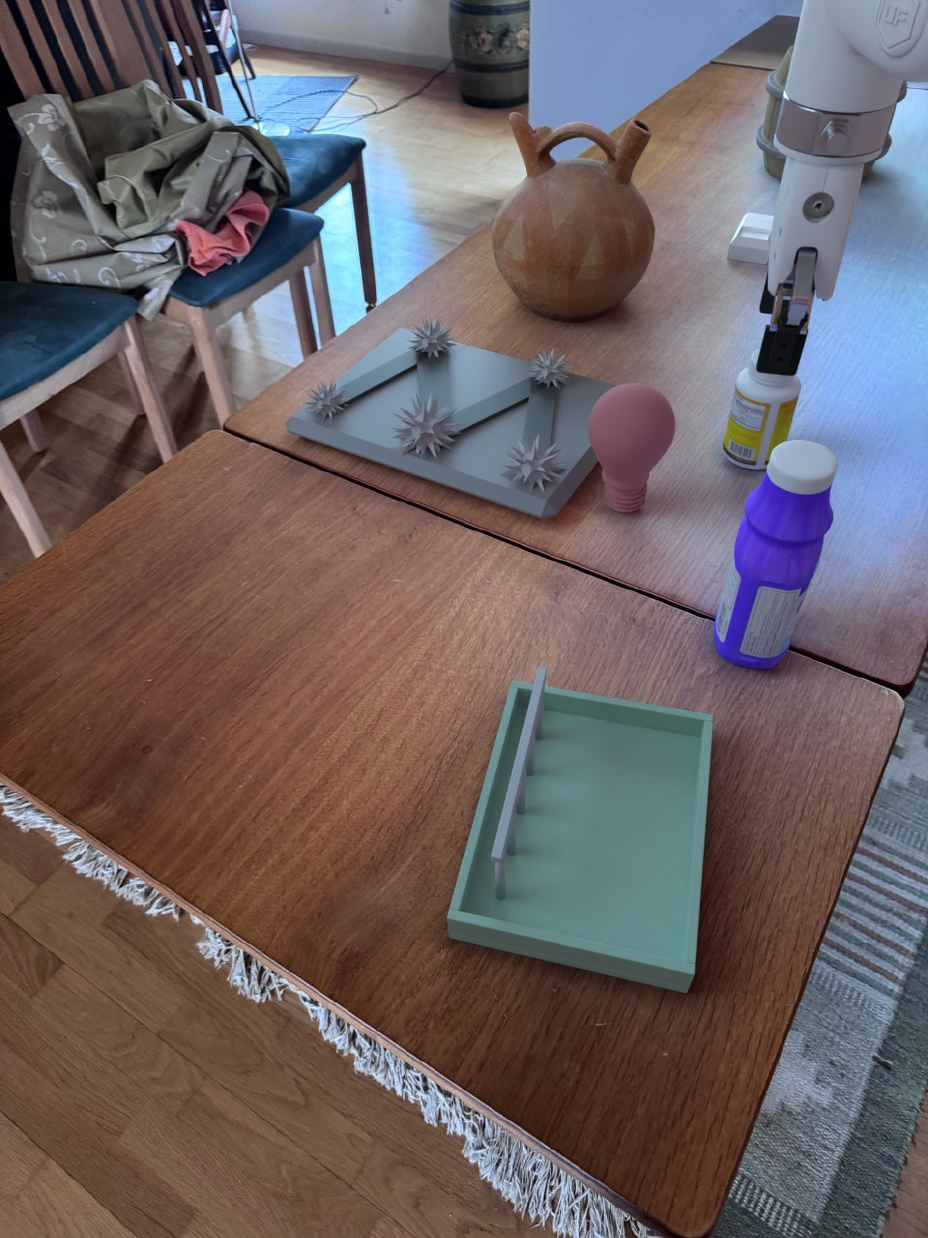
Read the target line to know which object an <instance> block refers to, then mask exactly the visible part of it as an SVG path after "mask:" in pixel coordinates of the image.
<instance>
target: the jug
mask: <svg viewBox="0 0 928 1238" xmlns="http://www.w3.org/2000/svg"><path fill="white" fill-rule="evenodd" d="M508 122H509V124H510V127H511V131H512V133H513V136H514V139H515V142H516V145H517V146H518V149H519V152H520V155H521V157H522V161H523V163H524V167H525V172H526V176H525V177H524V178H523V180H521V181H520V182H519V183H518V184H517V185H516V186H515V187H514V188H513V189H512V190H511V191H510V192H509V193H508V194H507V195H506V197H505V199H504V201H503V202H502V204H501V206H500V207H499V209H498V211H497V212H496V215H495V217H494V219H493V223H492V226H491V244H492V250H493V257H494V261H495V264H496V266H497V271H498V272H499V273H500V275H501V276H502V278H503V280H504V282H505V283H506V284H507V286H508V288H510V290H511V291H512V292H513V294H514V295H515V296H516V297H517V298H518V299H519V300H520V301H521V302H522V304H523V305H524V306H525V307H526V308H527V309H529V310H530V311H531V312H532V313H534V314H536V315H538V316H541V317H542V318H545V319H549V320H553V321H557V322H558V321H559V322H566V323H570V322H584V321H586V322H587V321H590V320H594V319H598V318H600V317H604V316H606V315H607V314H609V313H610V312H612V311H613V310H614V309H615V308H617V306H618V305H620V304H621V302H623V301H624V300H625V299H626V298H627V297H628V295H630V293H632V292H633V290H634V289H635V288H636V287H637V286H638V284H639V282H640V281H641V279H642V278H643V277H644V275H645V273H646V271H647V269H648V267H649V264H650V261H651V259H652V254H653V251H654V245H655V244H654V243H655V236H656V226H655V222H654V219H653V215H652V213H651V210H650V208H649V206H648V204H647V201H646V198H644V196H643V195H642V194H641V192H640V191H639V189H638V187H637V186H636V184H635V183H634V182H633V181H632V178H633V174H634V170H635V167H636V166H637V163H638V162H639V160H640V158H641V156H642V154H643V153H644V151H645V149H646V147H647V145H648V144H649V141H650V140H651V138H652V131H651V128H650V126H649V125H648V124H646V123H645V122H643V121H641V120H639V119H637V118H631V119H630V121H629V122H628V123H627V126H626V127H625V129H624V131H623V133H622V135H621V137H620V138H619V140H615V139H614V138H612V136H610V135H609V134H608V133H607V132H605V131H604V130H603V129H602V128H600V127H598V126H596V125H594V124H592V123H589V122H585V121H577V120H576V121H572V122H567V123H565V124H562V125H560V126H558V127H556V128H555V129H553V128H552V127H550V126H548V125H546V124H540V125H537V126H536V127H535V129H533V127H532V126H531V124H530V123H529V122H528V121H527V120H526V118H525V117H524V115H523V114H522V113H520V112H517V111H514V112H511V113H509V116H508ZM577 138H578V139H579V138H583V139H587V140H589V141H591V142H593V143H595V145H597V146H598V147H599V148H600V149H601V150H602V151H603V153H604V154H605V155H606V159H607V160H605V161H601V160H597V159H594V158H587V157H586V158H585V157H578V158H577V157H576V158H568V159H563V160H555V159H554V158H553V157H552V155H551V151H552V150H553V149H554V148H555V147H557V146H558V145H561V144H563V143H564V142H567V141H569V140H572V139H577Z"/></svg>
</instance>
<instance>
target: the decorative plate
mask: <svg viewBox="0 0 928 1238" xmlns="http://www.w3.org/2000/svg"><path fill="white" fill-rule="evenodd" d="M436 318H437V316H434V319H433V322H432V318H430V319H429V322H428V319H427V318H426V316H424V319H425V321H424V319H423V318H421V321H422V322H421V321H420V325H421V328H419V327H418V326H417V325H416V324H415V325H414V324H413V326H414V327H415V328H416V329H415V328H412V329H409V328H405V327H402V326H401V327H399V328H398V329H396V330H395V331H394V332H393V333H391V334H390V335H389V336H388V337H387V338H386V339H384V340H383V341H382V342H380V344H378V345H377V346H376V347H374V348H373V349H372V350H371V351H370V352H368V353H367V354H366V355H365V356H364V357H362V358H361V359H360V360H358V362H356V363H355V364H354V365H353V366H352V367H350V368H349V369H348V370H347V371H345V372H344V373H342V374H341V375H340V376H339V377H338V378H337V379H335V380H334V381H333V380H329V382H328V384H327V387H326V384H325V383H323V382H322V381H320V384H321V386H320V385H319V383H318V382H316V385H317V390H318V392H317V391H316V390H313V389H312V388H309V391H310V392H311V393H312V394H311V393H309V392H307V391H305V394H307V395H308V396H309V397H310V398H311V400H307V401H304V403H305V404H304V406H302V407H301V408H300V409H299V410H298V411H297V412H295V413H294V414H293V415H292V416H290V418H289V419H288V420H287V421H286V430H287V433H289V434H292V435H295V436H298V437H301V438H304V439H307V440H310V441H312V442H316V443H319V444H322V445H324V446H327V447H330V448H334V449H336V450H339V451H342V452H344V453H347V454H350V455H354V456H357V457H359V458H363V459H365V460H369V461H371V462H374V463H377V464H380V465H383V466H385V467H389V468H392V469H395V470H397V471H401V472H404V473H406V474H408V475H412V476H416V477H419V478H421V479H425V480H427V481H429V482H433V483H436V484H439V485H442V486H445V487H448V488H450V489H453V490H456V491H458V492H463V493H465V494H469V495H471V496H474V497H477V498H479V499H483V500H485V501H489V502H490V503H495V504H497V505H500V506H503V507H506V508H509V509H512V510H515V511H518V512H520V513H524V514H527V515H530V516H533V517H535V518H538V519H542V520H544V521H547V520H549V519H551V518H553V517H555V516H557V515H558V514H559V513H560V511H561V510H562V509H563V507H564V506H565V504H567V502H568V501H569V500H570V499H571V497H572V496H573V495H574V493H575V492H576V491H577V490H578V488H579V487H580V485H582V483H583V482H584V480H585V479H586V478H587V477H588V475H589V474H590V472H591V471H592V470H593V469H594V467H595V466H596V465H597V464H598V463H599V460H598V459H597V457H596V455H595V452H594V450H593V448H592V446H591V443H590V440H589V435H588V422H589V417H590V414H591V411H592V409H593V407H594V405H595V404H596V402H597V401H598V400H599V398H600V397H601V396H602V395H603V394H605V393H606V392H607V391H609V390H610V389H612V388H614V387H616V386H619V385H618V384H615V383H610V382H607V381H603V380H600V379H595V378H592V377H589V376H584V375H582V374H576V373H573V372H569V370H571V369H572V366H564V365H565V363H566V362H567V361H568V360H570V357H568V358H566V359H565V357H566V354H563V355H562V356H561V357H560V358H558V359H557V355H558V348H557V349H556V350H555V353H554V348H552V350H551V349H550V351H549V354H547V353H546V350H545V349H543V350H541V354H542V355H541V354H540V353H538V357H539V358H538V357H537V356H534V357H535V359H533V358H531V360H532V361H531V360H525V359H521V358H517V357H513V356H510V355H505V354H502V353H498V352H495V351H490V350H487V349H483V348H480V347H476V346H474V345H473V346H472V345H468V344H465V343H461V342H457V341H454V340H455V339H456V338H457V336H451V333H450V331H451V330H453V328H454V326H452V327H451V328H450V326H447V325H448V324H449V322H447V323H446V324H444V325H443V326H442V327H441V323H442V320H440V317H438V318H437V320H436ZM564 359H565V360H564Z"/></svg>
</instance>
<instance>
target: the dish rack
mask: <svg viewBox="0 0 928 1238" xmlns="http://www.w3.org/2000/svg"><path fill="white" fill-rule="evenodd" d="M548 669H549V668H548V666H547V665H541V664H539V665H538V667H537V671H536V676H535V678H534V683H529V682H524V681H518V680H511V683H510V686H509V689H508V693H507V696H506V701H505V704H504V708H503V712H502V715H501V718H500V722H499V726H498V730H497V733H496V737H495V741H494V743H493V744H494V745H493V748H492V752H491V756H490V758H489V763H488V765H487V770H486V774H485V777H484V781H483V785H482V787H481V792H480V795H479V799H478V803H477V807H476V810H475V813H474V814H475V815H474V817H473V822H472V825H471V829H470V832H469V835H468V839H467V843H466V847H465V850H464V854H463V858H462V862H461V865H460V868H459V873H458V876H457V880H456V883H455V887H454V891H453V894H452V898H451V900H450V901H451V902H450V905H449V909H448V912H447V916H446V921H447V929H448V938H449V939H452V940H456V941H460V942H465V943H469V944H474V945H477V946H482V947H486V948H490V949H495V950H498V951H502V952H508V953H512V954H516V955H520V956H525V957H529V958H534V959H538V960H541V961H546V962H551V963H554V964H559V965H563V966H568V967H572V968H575V969H580V970H584V971H589V972H593V973H596V974H602V975H606V976H610V977H615V978H619V979H623V980H627V981H631V982H636V983H640V984H645V985H649V986H653V987H657V988H661V989H667V990H670V991H674V992H678V993H679V992H680V993H682V994H683V993H684V994H688V992H689V989H690V988H691V985H692V982H693V980H694V977H695V976H696V964H697V963H696V962H697V950H698V949H697V948H698V937H699V936H698V935H699V924H700V923H699V921H700V906H701V896H702V895H701V894H702V883H703V882H702V881H703V869H704V868H703V867H704V855H705V854H704V853H705V839H706V828H707V827H706V825H707V815H708V814H707V813H708V798H709V788H710V787H709V785H710V772H711V761H712V759H711V758H712V747H713V733H714V730H713V729H714V717H715V716H714V715H713V714H710V713H704V712H698V711H692V710H686V709H681V708H675V707H668V706H663V705H657V704H651V703H647V702H642V701H641V702H640V701H635V700H629V699H622V698H617V697H611V696H605V695H599V694H593V693H588V692H582V691H577V690H570V689H564V688H558V687H555V686H553V687H552V686H548V685H546V680H547V676H548V672H549V671H548Z"/></svg>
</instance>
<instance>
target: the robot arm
mask: <svg viewBox="0 0 928 1238" xmlns="http://www.w3.org/2000/svg"><path fill="white" fill-rule="evenodd" d="M793 45H794V49H793V53H792V58H791V63H790V67H789V72H788V77H787V81H786V86H785V91H784V95H783V99H782V104H781V109H780V113H779V118H778V123H777V127H776V133H775V136H774V141H773V144H774V146H775V148H776V149H777V150H778V151H779V152H781V153H782V154H784V155H786V156H787V158H786V162H785V166H784V171H783V175H782V179H780V180H781V181H780V186H779V188H778V189H779V190H778V194H777V195H778V196H777V199H776V204H775V208H774V214H773V216H774V219H773V225H772V232H771V240H770V249H769V260H768V268H767V271H766V276H765V281H764V285H763V289H762V292H761V293H762V294H761V297H760V301H759V306H758V310H759V313H760V314H764V315H771V317H770V323H769V324H765V328H764V331H763V336H762V340H761V344H760V348H759V349H760V352H759V356H758V360H757V364H756V371H757V372H759V373H766V374H776V375H785V376H794V375H795V374H796V375H797V374H798V370H799V366H800V362H801V358H802V355H803V352H804V349H805V345H806V341H807V338H808V334H809V324H810V320H811V314H812V308H813V302H814V299H815V296H816V300H817V299H818V300H820V299H821V300H822V301H823V302H828V301H829V300H830V299H831V298H833V297H834V292H835V289H836V285H837V282H838V277H839V274H840V270H841V265H842V263H843V258H844V254H845V250H846V246H847V243H848V238H849V235H850V231H851V228H852V227H851V226H852V223H853V220H854V215H855V211H856V208H857V203H858V197H859V195H860V194H859V193H860V189H861V184H862V180H863V179H862V174H863V168H864V163H865V162H868V161H871V160H873V159H875V158H877V157H878V156H879V155H880V154H881V151H882V148H883V145H884V141H885V138H886V135H887V131H888V128H889V125H890V122H891V118H892V115H893V112H894V108H895V105H896V101H897V98H898V95H899V92H900V89H901V85H902V82H903V81H906V82H907V83H918V84H919V83H928V0H803V3H802V8H801V12H800V17H799V22H798V27H797V31H796V35H795V40H794V44H793Z"/></svg>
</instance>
